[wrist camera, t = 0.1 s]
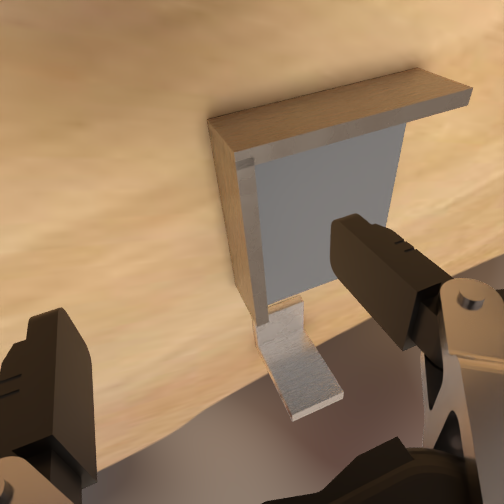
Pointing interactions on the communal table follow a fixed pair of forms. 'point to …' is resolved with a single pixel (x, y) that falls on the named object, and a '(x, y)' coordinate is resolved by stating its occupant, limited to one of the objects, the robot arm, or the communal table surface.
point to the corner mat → (320, 204)
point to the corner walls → (306, 138)
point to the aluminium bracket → (295, 361)
